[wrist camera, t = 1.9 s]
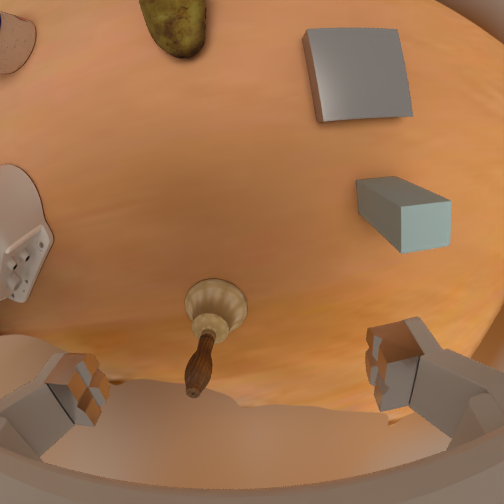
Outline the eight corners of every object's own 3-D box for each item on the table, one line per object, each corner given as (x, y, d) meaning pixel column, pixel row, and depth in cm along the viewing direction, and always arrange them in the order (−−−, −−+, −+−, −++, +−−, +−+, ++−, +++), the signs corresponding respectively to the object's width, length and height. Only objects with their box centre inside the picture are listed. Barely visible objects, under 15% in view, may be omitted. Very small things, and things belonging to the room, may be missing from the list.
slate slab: (398, 116, 32) (413, 116, 28) (316, 122, 33) (323, 121, 29) (384, 37, 29) (397, 29, 25) (302, 39, 29) (306, 29, 26)
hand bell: (188, 331, 43) (160, 417, 29) (182, 277, 40) (144, 357, 26) (247, 333, 43) (242, 424, 28) (247, 278, 40) (240, 364, 25)
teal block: (396, 208, 36) (449, 245, 24) (358, 213, 37) (401, 253, 25) (394, 176, 35) (451, 200, 23) (355, 180, 35) (400, 206, 23)
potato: (136, 61, 31) (107, 47, 23) (156, -28, 26) (135, -56, 18) (205, 63, 31) (190, 46, 23) (223, -29, 26) (215, -61, 19)
